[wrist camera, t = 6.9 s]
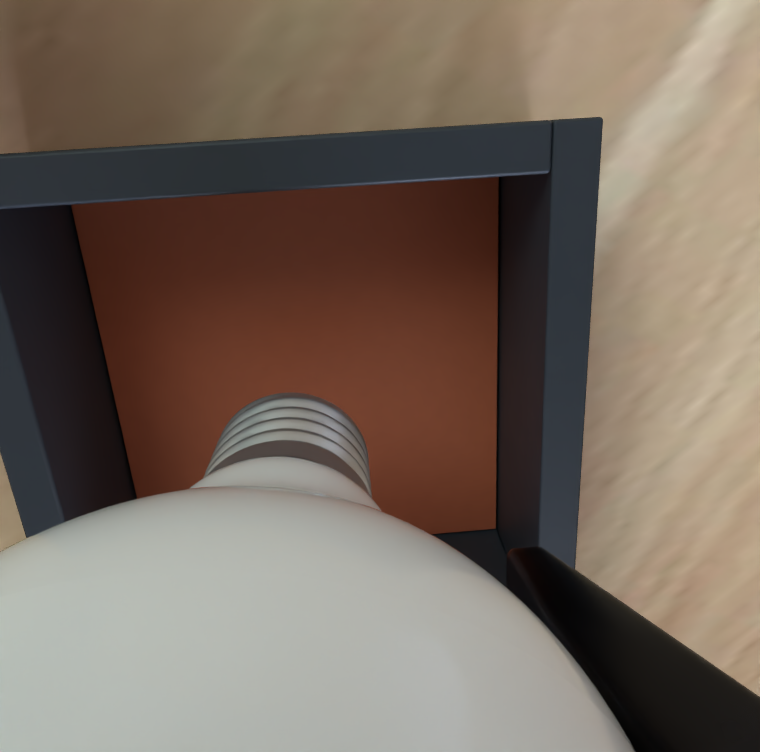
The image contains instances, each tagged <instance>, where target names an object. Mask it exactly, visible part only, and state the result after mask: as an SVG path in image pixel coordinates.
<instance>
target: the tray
mask: <svg viewBox="0 0 760 752" xmlns="http://www.w3.org/2000/svg"><path fill="white" fill-rule="evenodd" d="M602 126H603V119H602V118H601V117H592V118H575V119H559V120H549V121H548V120H543V121H527V122H511V123H495V124H478V125H462V126H446V127H430V128H414V129H397V130H381V131H365V132H349V133H333V134H316V135H300V136H284V137H268V138H252V139H235V140H219V141H203V142H187V143H170V144H154V145H138V146H122V147H106V148H89V149H73V150H57V151H41V152H25V153H8V154H0V452H1V456H2V459H3V462H4V466H5V469H6V472H7V475H8V479H9V482H10V485H11V489H12V492H13V495H14V498H15V502H16V505H17V508H18V511H19V515H20V518H21V521H22V525H23V528H24V531H25V534H26V538H28V537H30V536H32V535H34V534H36V533H39V532H41V531H43V530H46V529H48V528H50V527H53V526H55V525H58V524H60V523H62V522H65V521H67V520H70V519H73V518H75V517H78V516H81V515H84V514H86V513H89V512H92V511H95V510H98V509H101V508H105V507H108V506H111V505H114V504H118V503H122V502H125V501H129V500H133V499H137V498H141V497H145V496H150V495H155V494H159V493H165V492H171V491H177V490H183V489H189V488H190V487H191V486H192V485H194V484H195V483H197V482H198V481H200V480H201V479H203V477H204V475H205V472H206V469H207V467H208V465H209V463H210V460H211V457H212V455H213V452H214V450H215V448H216V445H217V442H218V440H219V438H220V436H221V434H222V432H223V430H224V428H225V427H226V425H227V424H228V422H229V421H230V420H231V418H232V417H233V416H234V415H235V414H236V413H237V412H238V411H240V410H241V409H242V408H243V407H245V406H246V405H248V404H250V403H251V402H253V401H255V400H257V399H260V398H262V397H265V396H269V395H273V394H278V393H292V392H293V393H304V394H309V395H313V396H316V397H320V398H322V399H325V400H327V401H329V402H331V403H333V404H334V405H336V406H337V407H339V408H340V409H342V410H343V411H344V412H345V413H346V414H347V415H348V416H349V417H350V418H351V419H352V420H353V421H354V423H355V424H356V425H357V427H358V428H359V430H360V432H361V433H362V435H363V438H364V440H365V443H366V446H367V451H368V458H369V471H370V481H371V492H372V499H373V500H374V501H375V502H376V503H377V505H378V506H379V507H380V508H381V510H382V511H383V512H385V513H388V514H390V515H392V516H395V517H397V518H400V519H402V520H404V521H406V522H408V523H410V524H412V525H414V526H417V527H418V528H420V529H422V530H424V531H426V532H428V533H430V534H431V535H433V536H435V537H437V538H439V539H440V540H442V541H444V542H445V543H447V544H449V545H450V546H452V547H453V548H455V549H456V550H458V551H459V552H461V553H462V554H464V555H465V556H467V557H468V558H470V559H471V560H473V561H474V562H476V563H477V564H478V565H480V566H481V567H482V568H484V569H485V570H486V571H488V572H489V573H490V574H491V575H493V576H494V577H495V578H496V579H498V580H499V581H500V582H501V583H502V584H504V585H505V586H506V561H507V554H508V552H509V551H510V550H511V549H513V548H524V547H534V546H539V547H542V548H544V549H546V550H547V551H549V552H550V553H551V554H553V555H554V556H556V557H557V558H559V559H560V560H562V561H563V562H564V563H566V564H567V565H569V566H570V567H572V568H573V569H575V559H576V543H577V527H578V511H579V495H580V479H581V463H582V447H583V431H584V415H585V399H586V383H587V367H588V351H589V335H590V318H591V302H592V286H593V270H594V254H595V238H596V222H597V206H598V190H599V174H600V158H601V142H602Z"/></svg>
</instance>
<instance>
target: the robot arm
mask: <svg viewBox="0 0 760 752" xmlns="http://www.w3.org/2000/svg"><path fill="white" fill-rule="evenodd" d="M506 587H507V588H508V589H509V590H511V591H512V592H513V593H514V594H515V595H516V596H517V597H518V598H519V599H520V600H521V601H522V602H523V603H525V604H526V605H527V606H528V607H529V608H530V609H531V610H532V611H533V612H534V613H535V614H536V615H537V616H538V617H539V618H540V619H541V621H542V622H543V623H544V624H545V625H546V626H547V627H548V628H549V629H550V630H551V631H552V632H553V633H554V634H555V636H556V637H557V638H558V639H559V640H560V641H561V643H562V644H563V645H564V646H565V647H566V649H567V650H568V651H569V652H570V653H571V655H572V656H573V657H574V658H575V659H576V661H577V662H578V663H579V665H580V666H581V667H582V669H583V670H584V671H585V673H586V674H587V676H588V677H589V678H590V680H591V681H592V682H593V684H594V685H595V686H596V688H597V689H598V691H599V692H600V694H601V695H602V697H603V698H604V700H605V701H606V703H607V704H608V706H609V707H610V709H611V710H612V712H613V714H614V715H615V717H616V718H617V720H618V721H619V723H620V725H621V727H622V728H623V730H624V732H625V733H626V735H627V737H628V738H629V740H630V742H631V744H632V746H633V747H634V749H635V751H636V752H760V697H759V696H757V695H756V694H755V693H753V692H752V691H750V690H749V689H747V688H746V687H744V686H743V685H741V684H740V683H739V682H737V681H736V680H734V679H733V678H731V677H730V676H728V675H727V674H726V673H724V672H723V671H721V670H720V669H718V668H717V667H715V666H714V665H712V664H711V663H710V662H708V661H707V660H705V659H704V658H702V657H701V656H699V655H698V654H696V653H695V652H694V651H692V650H691V649H689V648H688V647H686V646H685V645H683V644H682V643H681V642H679V641H678V640H676V639H675V638H673V637H672V636H670V635H669V634H667V633H666V632H665V631H663V630H662V629H660V628H659V627H657V626H656V625H654V624H653V623H652V622H650V621H649V620H647V619H646V618H644V617H643V616H641V615H640V614H638V613H637V612H636V611H634V610H633V609H631V608H630V607H628V606H627V605H625V604H624V603H622V602H621V601H620V600H618V599H617V598H615V597H614V596H612V595H611V594H609V593H608V592H607V591H605V590H604V589H602V588H601V587H599V586H598V585H596V584H595V583H593V582H592V581H591V580H589V579H588V578H586V577H585V576H583V575H582V574H580V573H579V572H578V571H576V570H575V569H573V568H572V567H570V566H569V565H567V564H566V563H564V562H563V561H562V560H560V559H559V558H557V557H556V556H554V555H553V554H551V553H550V552H549V551H547V550H546V549H544V548H542V547H539V546H534V547H524V548H513V549H511V550H510V551H509V552H508V554H507V561H506Z"/></svg>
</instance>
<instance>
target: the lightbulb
mask: <svg viewBox="0 0 760 752" xmlns="http://www.w3.org/2000/svg"><path fill="white" fill-rule="evenodd" d="M0 752H636V751H635V749H634V747H633V746H632V744H631V742H630V740H629V738H628V737H627V735H626V733H625V732H624V730H623V728H622V727H621V725H620V723H619V721H618V720H617V718H616V717H615V715H614V714H613V712H612V710H611V709H610V707H609V706H608V704H607V703H606V701H605V700H604V698H603V697H602V695H601V694H600V692H599V691H598V689H597V688H596V686H595V685H594V684H593V682H592V681H591V680H590V678H589V677H588V676H587V674H586V673H585V671H584V670H583V669H582V667H581V666H580V665H579V663H578V662H577V661H576V659H575V658H574V657H573V656H572V655H571V653H570V652H569V651H568V650H567V649H566V647H565V646H564V645H563V644H562V643H561V641H560V640H559V639H558V638H557V637H556V636H555V634H554V633H553V632H552V631H551V630H550V629H549V628H548V627H547V626H546V625H545V624H544V623H543V622H542V621H541V619H540V618H539V617H538V616H537V615H536V614H535V613H534V612H533V611H532V610H531V609H530V608H529V607H528V606H527V605H526V604H525V603H523V602H522V601H521V600H520V599H519V598H518V597H517V596H516V595H515V594H514V593H513V592H512V591H511V590H509V589H508V588H507V587H506V586H505V585H504V584H502V583H501V582H500V581H499V580H498V579H496V578H495V577H494V576H493V575H491V574H490V573H489V572H488V571H486V570H485V569H484V568H482V567H481V566H480V565H478V564H477V563H476V562H474V561H473V560H471V559H470V558H468V557H467V556H465V555H464V554H462V553H461V552H459V551H458V550H456V549H455V548H453V547H452V546H450V545H449V544H447V543H445V542H444V541H442V540H440V539H439V538H437V537H435V536H433V535H431V534H430V533H428V532H426V531H424V530H422V529H420V528H418V527H417V526H414V525H412V524H410V523H408V522H406V521H404V520H402V519H400V518H397V517H395V516H392V515H390V514H388V513H385V512H383V511H382V510H381V508H380V507H379V506H378V505H377V503H376V502H375V501H374V500H373V499H372V492H371V481H370V471H369V458H368V451H367V446H366V443H365V440H364V438H363V435H362V433H361V432H360V430H359V428H358V427H357V425H356V424H355V423H354V421H353V420H352V419H351V418H350V417H349V416H348V415H347V414H346V413H345V412H344V411H343V410H342V409H340V408H339V407H337V406H336V405H334V404H333V403H331V402H329V401H327V400H325V399H322V398H320V397H316V396H313V395H309V394H304V393H293V392H292V393H278V394H273V395H269V396H265V397H262V398H260V399H257V400H255V401H253V402H251V403H250V404H248V405H246V406H245V407H243V408H242V409H241V410H240V411H238V412H237V413H236V414H235V415H234V416H233V417H232V418H231V420H230V421H229V422H228V424H227V425H226V427H225V428H224V430H223V432H222V434H221V436H220V438H219V440H218V442H217V445H216V448H215V450H214V452H213V455H212V457H211V460H210V463H209V465H208V467H207V469H206V472H205V475H204V477H203V479H201V480H200V481H198V482H197V483H195V484H194V485H192V486H191V487H190V488H189V489H183V490H177V491H171V492H165V493H159V494H155V495H150V496H145V497H141V498H137V499H133V500H129V501H125V502H122V503H118V504H114V505H111V506H108V507H105V508H101V509H98V510H95V511H92V512H89V513H86V514H84V515H81V516H78V517H75V518H73V519H70V520H67V521H65V522H62V523H60V524H58V525H55V526H53V527H50V528H48V529H46V530H43V531H41V532H39V533H36V534H34V535H32V536H30V537H28V538H26V539H24V540H22V541H20V542H18V543H16V544H14V545H12V546H10V547H8V548H6V549H4V550H2V551H0Z"/></svg>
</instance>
